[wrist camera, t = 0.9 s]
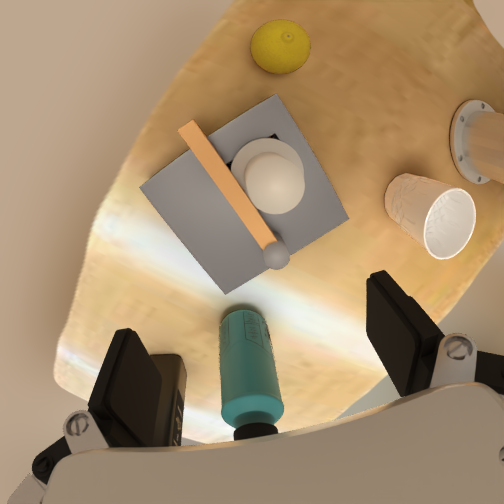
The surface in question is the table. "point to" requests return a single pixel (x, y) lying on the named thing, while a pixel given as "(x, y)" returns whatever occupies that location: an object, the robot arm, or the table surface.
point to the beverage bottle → (248, 376)
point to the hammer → (236, 196)
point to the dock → (222, 213)
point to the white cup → (431, 213)
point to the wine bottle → (170, 401)
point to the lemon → (280, 46)
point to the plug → (270, 174)
